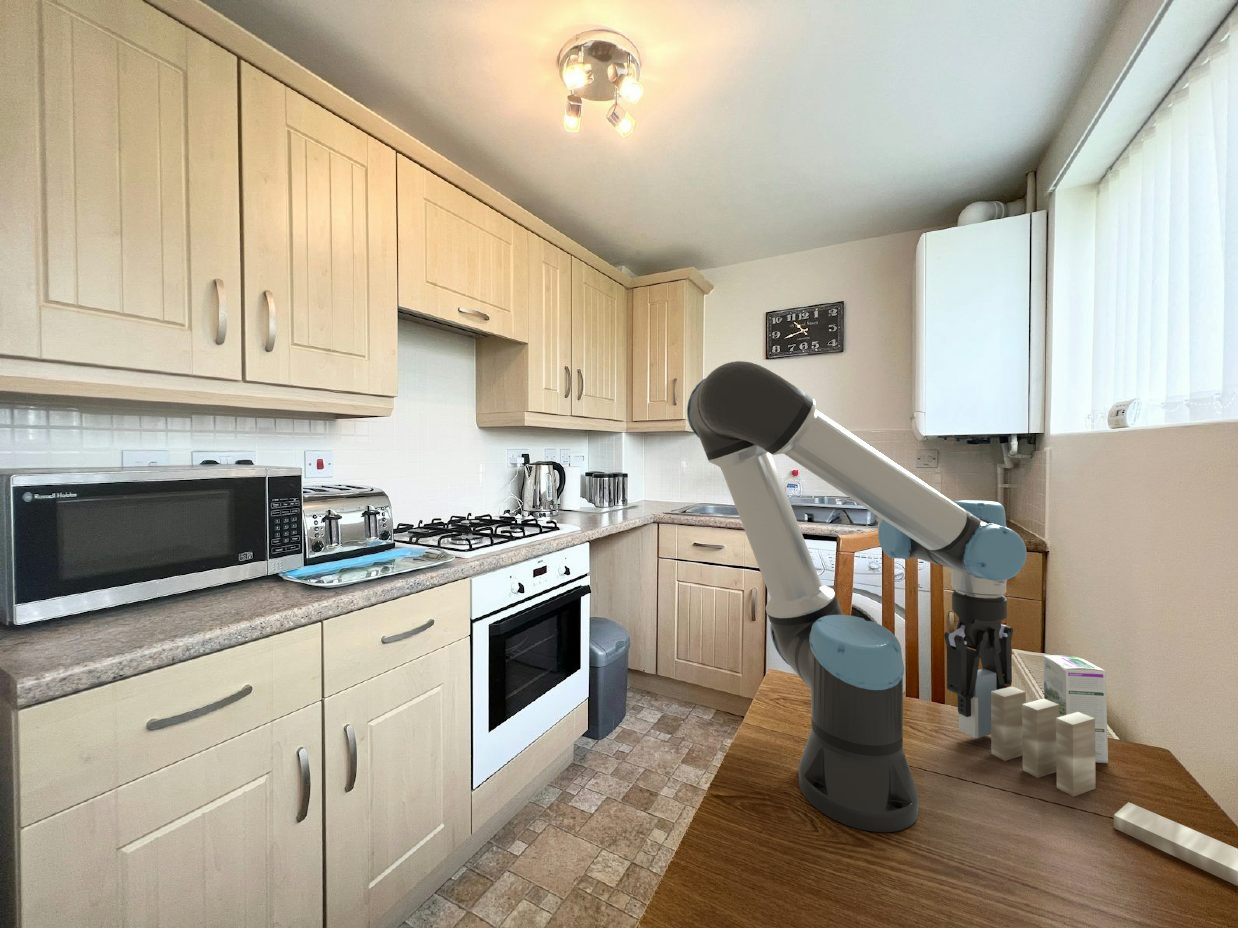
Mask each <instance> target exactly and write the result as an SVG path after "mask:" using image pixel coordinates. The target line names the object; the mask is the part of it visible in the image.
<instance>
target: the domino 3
mask: <svg viewBox="0 0 1238 928" xmlns="http://www.w3.org/2000/svg"><path fill="white" fill-rule="evenodd" d="M1058 717H1059V704H1056V703H1054V702H1051V701H1049V700H1046V699H1044V698H1041V699H1037V700H1033V701H1029V702H1026V703H1025V704H1022V732H1023V755H1022V771H1023V772H1026V773H1027V774H1030V775H1031V776H1032V777H1035V778H1037V779H1039V778H1042V777H1044V776H1049V775H1050V774H1054V773H1057V764H1056V718H1058Z"/></svg>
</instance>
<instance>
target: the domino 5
mask: <svg viewBox="0 0 1238 928" xmlns="http://www.w3.org/2000/svg"><path fill="white" fill-rule="evenodd" d="M1113 828H1114V829H1115V830H1118V832H1119V831H1120V832H1122V833H1123V834H1126V835H1128V836H1131V837H1133V838H1135V839H1137V840H1138V841H1141V842H1143V843H1145V844H1147V845H1150V846H1151V847H1154V848H1156V849H1157V850H1160V851H1161V852H1164V853H1166V854H1168V855H1171V856H1173V857H1175V858H1177V859H1180V860H1181V861H1183V862H1185V863H1188V864H1190V865H1192V866H1194V867H1196V868H1199V869H1200V870H1203V871H1204V872H1207V873H1209V874H1211V875H1214V876H1216V877H1218V878H1220V879H1222V880H1223V881H1226V882H1229V883H1230V884H1233V885H1234V886H1237V887H1238V848H1237V847H1234V846H1232V845H1230V844H1227V843H1225V842H1223V841H1220V840H1219V839H1215V838H1214V837H1211V836H1209V835H1207V834H1205V833H1202V832H1200V831H1197V830H1194V829H1193V828H1190V827H1188V826H1186V825H1183V824H1181V823H1178V822H1176V821H1173V820H1171V819H1169V818H1166V817H1164V816H1161V815H1159V814H1158V813H1155V812H1153V811H1151V810H1148V809H1146V808H1143V807H1141V806H1139V805H1137V804H1134V803H1131V802H1129V801H1128V802H1127V803H1126V804H1124V805H1123V806H1122V807H1121V808H1120V809H1119V810H1117V811H1116V812H1115V813H1114V814H1113Z"/></svg>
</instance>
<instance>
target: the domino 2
mask: <svg viewBox="0 0 1238 928" xmlns="http://www.w3.org/2000/svg"><path fill="white" fill-rule="evenodd" d="M1006 687H1007V688H1003V689H999V690H994V691H991V734H990V735H991V737H990V738H991V745H990V746H991V748H990V750H991V755H993V756H995V757H996V758H999V759H1000V760H1002V761H1008V760H1012V759H1015V758H1018V757H1023V732H1022V704H1025V703H1027V702H1026V701H1027V698H1026V697H1027V696H1026V691H1025V690H1023V689H1020V688H1017V687H1016V686H1006Z"/></svg>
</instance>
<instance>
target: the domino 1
mask: <svg viewBox="0 0 1238 928" xmlns="http://www.w3.org/2000/svg"><path fill="white" fill-rule="evenodd" d="M966 689H967V688H966ZM994 690H997V689H996V673H994V672H992V671H989V670H986V669H983V668H980V669H978V673H977V679H976V685H975V692H974V697H977V698H978V738H977V739H979V738H982V737H985V736H990V735H991V691H994Z"/></svg>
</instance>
